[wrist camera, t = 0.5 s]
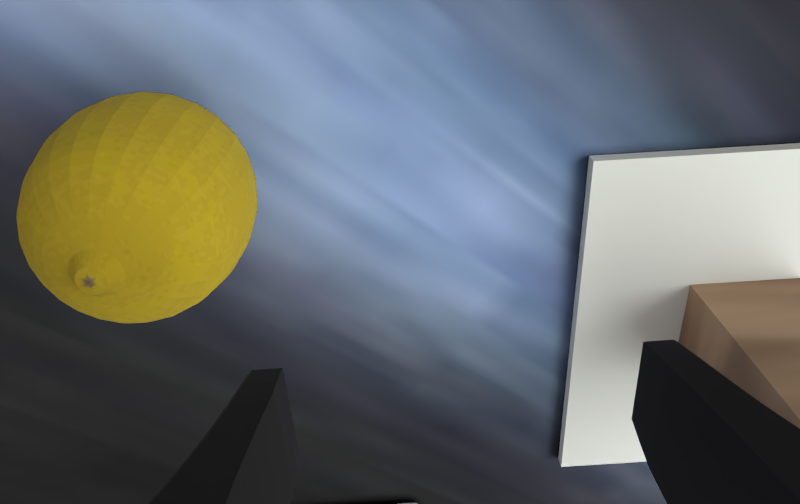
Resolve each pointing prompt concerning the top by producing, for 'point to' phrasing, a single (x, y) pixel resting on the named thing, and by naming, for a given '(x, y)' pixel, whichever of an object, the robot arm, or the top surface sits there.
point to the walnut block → (750, 337)
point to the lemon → (137, 207)
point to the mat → (664, 268)
